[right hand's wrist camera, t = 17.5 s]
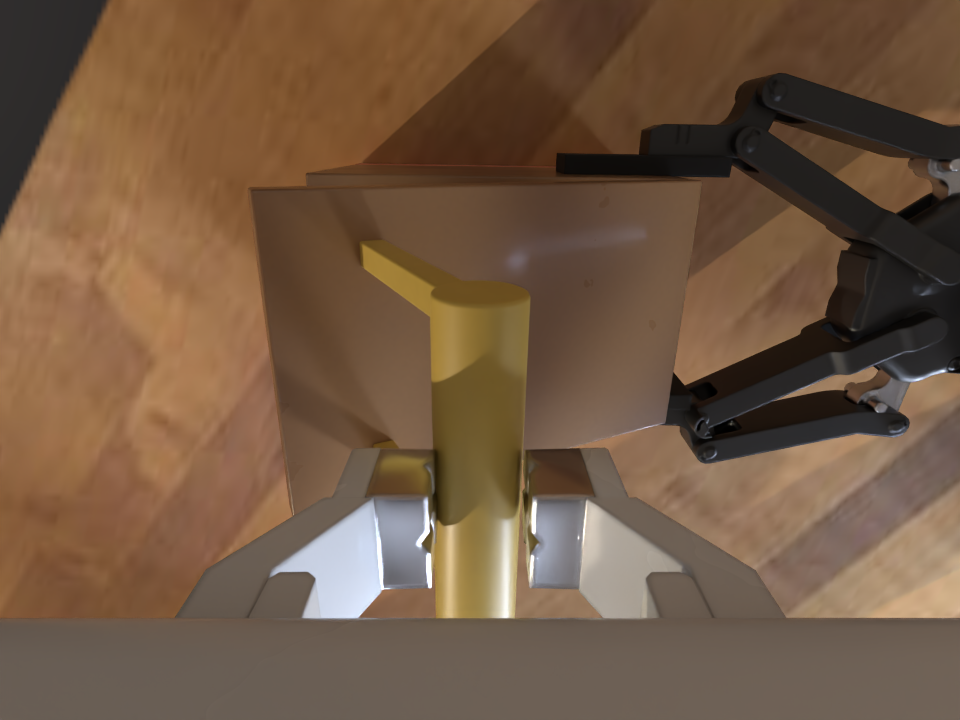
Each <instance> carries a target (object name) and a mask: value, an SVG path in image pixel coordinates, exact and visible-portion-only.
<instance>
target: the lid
mask: <svg viewBox="0 0 960 720" xmlns="http://www.w3.org/2000/svg"><path fill="white" fill-rule="evenodd" d="M701 188H702V181H701V180H689V179H668V180H614V181H561V182H507V183H453V184H399V185H345V186H291V187H250V188H248V198H249V205H250V213H251V220H252V228H253V235H254V243H255V250H256V258H257V265H258V272H259V280H260V287H261V295H262V302H263V310H264V317H265V325H266V332H267V340H268V347H269V355H270V362H271V370H272V377H273V384H274V392H275V399H276V407H277V414H278V422H279V429H280V437H281V444H282V452H283V459H284V467H285V474H286V482H287V489H288V496H289V504H290V508H291V511H292V515H293V516H294V515H296V514H298V513H299V512H301V511H303V510H304V509H306V508H308V507H309V506H311V505H312V504H314V503H316V502H317V501H319V500H321V499H322V498H329V497H332V496H333V494H334V491H335V489H336V486H337V484H338V482H339V479H340V477H341V475H342V472H343V470H344V468H345V465H346V463H347V461H348V458H349V456H350V453H351V451H352V450H353V449H355V448H381V449H383V448H401V449H436V467H437V477H436V486H435V490H436V493H437V496H438V531H437V542H436V543H435V544H434V567H435V593H436V618H515V602H516V581H517V561H518V540H519V520H520V500H521V479H522V460H524V450H529V449H568V448H572V447H576V446H579V445H583V444H587V443H591V442H595V441H599V440H602V439H606V438H610V437H614V436H618V435H622V434H625V433H629V432H633V431H637V430H641V429H645V428H649V427H652V426H656V425H660V424H664V423H665V422H666V416H667V409H668V403H669V396H670V390H671V383H672V377H673V370H674V364H675V357H676V351H677V344H678V338H679V331H680V325H681V318H682V312H683V305H684V299H685V292H686V286H687V279H688V273H689V266H690V260H691V253H692V247H693V240H694V234H695V227H696V221H697V214H698V208H699V201H700V195H701Z"/></svg>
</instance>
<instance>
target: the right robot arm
mask: <svg viewBox="0 0 960 720" xmlns="http://www.w3.org/2000/svg"><path fill="white" fill-rule="evenodd" d="M523 474H524V482H525V489H524V490H523V491H522V525H523V537H524V543H525V544H526V564H527V572H528V580H529V588H552V589H579V592H580V593H581V594H582V595H583V596H584V597H585V598H586V600H587V601H588V602H589V603H590V604H591V605H592V606H593V607H594V608H595V610H596V611H597V612H598V613H599V614H600V615H601V616H602V617H603V618H358V617H359V616H360V615H361V614H362V613H363V612H364V610H365V609H366V608H367V607H368V606H369V605H370V604H371V603H372V602H373V601H374V599H375V598H376V597H377V596H378V595H379V594H380V593H381V589H408V588H431V585H432V577H433V568H434V544H435V543H436V542H437V531H438V496H437V493H436V490H435V486H436V477H437V467H436V449H401V448H383V449H381V448H355V449H353V450H352V451H351V453H350V456H349V458H348V461H347V463H346V465H345V468H344V470H343V472H342V475H341V477H340V479H339V482H338V484H337V486H336V489H335V491H334V494H333V496H332V497H329V498H322V499H321V500H319V501H317V502H316V503H314V504H312V505H311V506H309V507H308V508H306V509H304V510H303V511H301V512H299V513H298V514H296V515H294V516H293V517H291V518H290V519H288V520H286V521H285V522H283V523H281V524H280V525H278V526H276V527H275V528H273V529H272V530H270V531H268V532H267V533H265V534H263V535H262V536H260V537H259V538H257V539H255V540H254V541H252V542H250V543H249V544H247V545H245V546H244V547H242V548H241V549H239V550H237V551H236V552H234V553H232V554H231V555H229V556H227V557H226V558H224V559H223V560H221V561H219V562H218V563H216V564H214V565H213V566H211V567H209V568H208V569H206V570H205V572H204V574H203V575H202V577H201V578H200V580H199V581H198V583H197V584H196V586H195V587H194V589H193V590H192V592H191V594H190V595H189V597H188V598H187V600H186V601H185V603H184V604H183V606H182V607H181V609H180V610H179V612H178V613H177V615H176V617H175V618H0V720H960V618H786V617H785V615H784V614H783V612H782V611H781V609H780V608H779V606H778V605H777V603H776V601H775V600H774V598H773V597H772V595H771V594H770V592H769V591H768V589H767V587H766V586H765V584H764V583H763V581H762V580H761V578H760V577H759V575H758V574H757V572H756V570H754V569H752V568H751V567H749V566H747V565H746V564H744V563H743V562H741V561H739V560H738V559H736V558H734V557H733V556H731V555H730V554H728V553H726V552H725V551H723V550H721V549H720V548H718V547H717V546H715V545H713V544H712V543H710V542H708V541H707V540H705V539H703V538H702V537H700V536H699V535H697V534H695V533H694V532H692V531H690V530H689V529H687V528H686V527H684V526H682V525H681V524H679V523H677V522H676V521H674V520H673V519H671V518H669V517H668V516H666V515H664V514H663V513H661V512H659V511H658V510H656V509H655V508H653V507H651V506H650V505H648V504H646V503H645V502H643V501H642V500H640V499H638V498H631V497H628V495H627V492H626V490H625V488H624V485H623V483H622V481H621V478H620V476H619V474H618V472H617V469H616V467H615V465H614V462H613V460H612V458H611V455H610V453H609V451H608V449H606V448H605V447H604V448H581V449H579V448H570V449H529V450H524V461H523Z"/></svg>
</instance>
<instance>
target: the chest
mask: <svg viewBox="0 0 960 720" xmlns="http://www.w3.org/2000/svg"><path fill="white" fill-rule="evenodd" d="M668 179H685V178H680V177H674V176H642V175H577V174H562V173H560V172H557V171H556V166H501V165H436V164H370V163H360V164H355V165H351V166H345V167H339V168H334V169H328V170H322V171H316V172H310V173H306V182H307V186H345V185H399V184H453V183H507V182H561V181H614V180H668Z"/></svg>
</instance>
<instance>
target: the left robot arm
mask: <svg viewBox="0 0 960 720" xmlns="http://www.w3.org/2000/svg"><path fill="white" fill-rule="evenodd" d="M735 102H736V103H735V105H734V107H733V109H732V111H731V113H730V114H729V116H728V117H727V118H726V119H725V120H724V121H723V122H721V123H720V124H718V125H688V124H661V125H653V126H651V127H648V128H646V129H643V130H641V139H640V148H639V155H638V154H575V153H557V159H556V171H557V172H560V173H562V174H577V175H642V176H674V177H730V172H731V166H732V165H733V166H734V167H736V168H738V169H739V170H741V171H742V172H744V173H745V174H747V175H748V176H750V177H751V178H753V179H754V180H756V181H758V182H759V183H761V184H762V185H764V186H765V187H767V188H768V189H770V190H771V191H773V192H774V193H776V194H778V195H779V196H781V197H782V198H784V199H785V200H787V201H788V202H790V203H791V204H793V205H794V206H796V207H798V208H799V209H801V210H802V211H804V212H805V213H807V214H808V215H810V216H811V217H813V218H814V219H816V220H818V221H819V222H821V223H822V224H824V225H825V226H826V228H827V229H828V230H829V231H831V232H832V233H834V234H835V235H837V236H838V237H840V238H841V239H843V240H844V241H846V242H848V243H849V244H851V245H850V247H849V248H848V250H841V254H840V258H839V262H838V266H837V279H838V283H837V286H836V288H835V290H834V291H833V293H832V295H831V297H830V299H829V302H828V306H827V310H826V314H825V316H827V317H826V318H824V319H821V320H819V321H817V322H815V323H812V324H810V325H808V326H806V327H804V328H803V329H802V330H801V334H800V335H798V336H796V337H794V338H791V339H789V340H787V341H785V342H782V343H780V344H778V345H776V346H773V347H771V348H769V349H767V350H764V351H762V352H760V353H758V354H755V355H753V356H751V357H749V358H746V359H744V360H742V361H739V362H737V363H735V364H733V365H730V366H728V367H726V368H724V369H721V370H719V371H717V372H715V373H712V374H710V375H708V376H706V377H703V378H701V379H699V380H697V381H694V382H692V383H690V384H687V385H685V386H684V384H683V383H682V382H681V381H680V380H679V378H678V377H677V376H676V375H675V374H674V372H673V377H672V383H671V390H670V396H669V403H668V409H667V416H666V422H665V423H664V424H660V425H676V426H681V427H680V433H681V435H682V437H683V438H684V440H685V441H686V443H687V444H688V446H689V447H690V449H691V450H692V452H693V453H694V454H695V456H696V457H697V459H698V460H699V461H700V462H702V463H705V464H706V463H714V462H719V461H724V460H729V459H734V458H739V457H744V456H749V455H754V454H759V453H764V452H769V451H774V450H779V449H784V448H789V447H794V446H799V445H804V444H809V443H814V442H819V441H824V440H829V439H834V438H839V437H844V436H849V435H854V434H864V435H873V436H883V437H898V436H900V435H902V434H903V433H905V432H906V430H907V429H908V427H909V419H908V418H907V417H906V416H905V415H903V414H902V413H900V412H898V410H899V408H900V405H901V403H902V401H903V398H904V396H905V394H906V391H907V389H908V387H909V384H910V382H917V381H920V380H923V379H925V378H927V377H930V376H932V375H936V374H940V373H956V374H960V124H959V125H942V124H939V123H936V122H933V121H930V120H927V119H924V118H921V117H918V116H914V115H911V114H908V113H905V112H902V111H899V110H896V109H893V108H890V107H887V106H884V105H881V104H878V103H875V102H871V101H868V100H865V99H862V98H859V97H856V96H853V95H850V94H847V93H844V92H841V91H838V90H835V89H832V88H829V87H825V86H822V85H819V84H816V83H813V82H810V81H807V80H804V79H801V78H798V77H795V76H792V75H789V74H785V73H778V74H773V75H769V76H765V77H761V78H756V79H752V80H749V81H746V82H744V83H743V84H742V85H740V86H739V88H738V90H737V91H736V95H735ZM773 121H776V122H779V123H782V124H785V125H789V126H792V127H795V128H798V129H801V130H804V131H807V132H811V133H814V134H817V135H820V136H823V137H826V138H830V139H833V140H836V141H839V142H842V143H845V144H849V145H852V146H855V147H858V148H861V149H864V150H868V151H871V152H874V153H877V154H880V155H884V156H889V157H897V158H910V159H909V161H908V167H909V168H910V169H912V170H913V172H914V174H915V175H916V176H918V177H921V178H926V179H928V180H929V181H930V182H931V183H932V187H933V192H932V193H930V194H927V195H926V196H924V197H922V198H921V199H919V200H917V201H916V202H914V203H912V204H911V205H909V206H907V207H906V208H904V209H902V210H901V211H899V212H897V213H896V214H895V213H893V212H890V211H888V210H885V209H883V208H881V207H879V206H878V205H876V204H875V203H873V202H872V201H870V200H869V199H867V198H866V197H864V196H863V195H861V194H860V193H858V192H857V191H855V190H854V189H852V188H851V187H849V186H848V185H846V184H845V183H843V182H842V181H840V180H839V179H837V178H836V177H834V176H833V175H831V174H830V173H828V172H827V171H825V170H824V169H822V168H821V167H820V166H818V165H817V164H815V163H814V162H812V161H811V160H809V159H808V158H806V157H805V156H803V155H802V154H800V153H799V152H797V151H796V150H794V149H793V148H791V147H790V146H788V145H787V144H785V143H784V142H782V141H781V140H779V139H778V138H776V137H775V136H773V135H772V134H770V133H769V132H768V130H769V128H770V126H771V124H772V123H773ZM871 366H874V367H875V368H876V369H877V370H878V372H877V374H876V376H875V377H874V378H873V379H871V380H869V381H867V382H862V383H857V384H855V383H853V382H851V383H848V384H847V385H846V386H845V388H844V390H845V391H843V390H830V391H821V392H816V393H811V394H806V395H801V396H796V397H792V398H787V399H782V400H777V401H774V400H776V399H779V398H781V397H784V396H786V395H788V394H791V393H793V392H795V391H798V390H800V389H802V388H805V387H807V386H809V385H812V384H814V383H816V382H819V381H821V380H824V379H826V378H828V377H831V376H833V375H837V374H841V375H850V374H854V373H857V372H859V371H862V370H864V369H867V368H869V367H871Z"/></svg>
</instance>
